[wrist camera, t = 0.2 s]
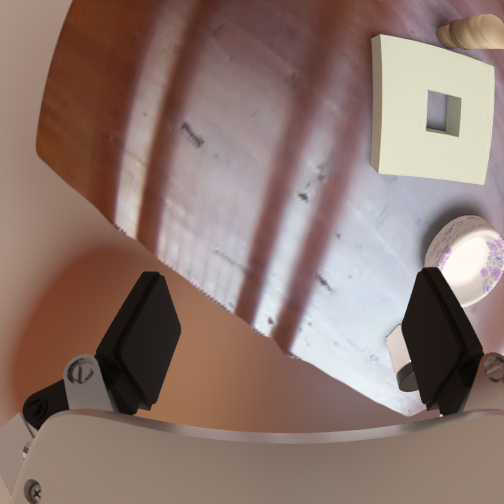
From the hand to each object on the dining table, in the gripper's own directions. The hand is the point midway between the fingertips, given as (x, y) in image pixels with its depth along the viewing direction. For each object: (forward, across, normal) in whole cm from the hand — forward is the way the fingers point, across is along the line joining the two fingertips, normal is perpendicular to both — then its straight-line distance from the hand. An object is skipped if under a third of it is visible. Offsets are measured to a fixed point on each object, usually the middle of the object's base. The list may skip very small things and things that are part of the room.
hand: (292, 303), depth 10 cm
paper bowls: (+31, -29, +17) cm, 46 cm away
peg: (+31, -24, -17) cm, 43 cm away
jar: (+31, -24, +39) cm, 56 cm away
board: (+31, -21, -5) cm, 38 cm away
